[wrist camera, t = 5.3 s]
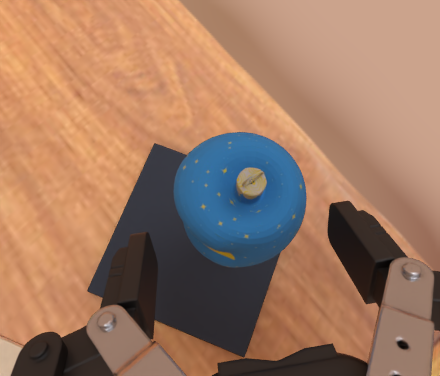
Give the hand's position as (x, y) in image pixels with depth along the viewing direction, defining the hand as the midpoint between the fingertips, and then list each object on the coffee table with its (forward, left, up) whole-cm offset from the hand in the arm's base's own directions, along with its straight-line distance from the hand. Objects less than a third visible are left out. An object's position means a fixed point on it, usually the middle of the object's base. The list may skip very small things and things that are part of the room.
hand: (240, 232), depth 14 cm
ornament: (+1, -1, -10) cm, 10 cm away
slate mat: (+3, +1, -10) cm, 10 cm away
